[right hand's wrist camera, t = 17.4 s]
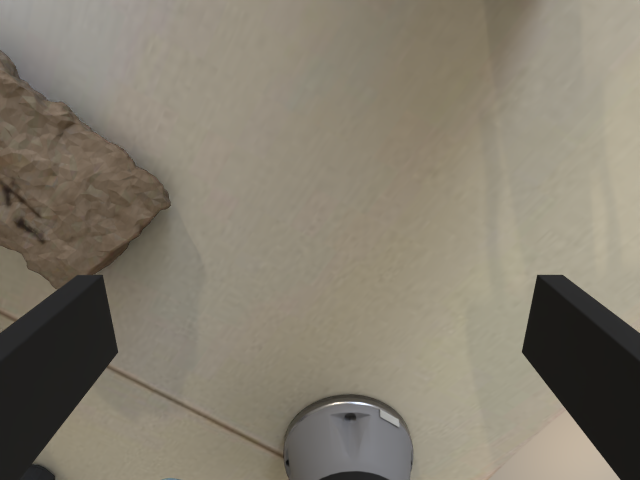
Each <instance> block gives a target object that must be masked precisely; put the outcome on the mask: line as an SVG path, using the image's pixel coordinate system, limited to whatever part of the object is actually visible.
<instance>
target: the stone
mask: <svg viewBox="0 0 640 480" xmlns="http://www.w3.org/2000/svg"><path fill="white" fill-rule="evenodd" d="M170 206H171V204H170V200H169V196H168V192H167V191H166V190H165V189H164V188H163V185H162V184H161V183H160V182H159V180H158V179H157V178H156V177H155V176H153V175H152V174H150V173H148V172H147V171H146V170H144V169H141V168H139V167H137V166H136V165H135V163H134V161H133V160H132V159H131V158H130V157H129V155H128V154H127V152H126V151H125V150H124V149H122V148H120V147H119V146H117V145H115V144H113V143H110V142H108V141H107V140H105V139H104V138H103V137H101V136H100V135H98V134H96V133H95V132H93V131H92V130H91V128H90V127H89V126H87V125H85V124H84V123H82V122H81V121H80V120H79V119H78V117H77V116H76V115H75V114H74V113H73V112H72V111H71V109H70V108H69V107H68V106H67V105H66V104H64V103H63V102H58V103H57V102H51V101H48V100H46V98H45V97H44V95H42V94H40V93H38V92H37V91H35V90H33V89H32V88H31V87H30V85H29V84H28V83H27V82H25V81H24V80H21V79H20V77H19V75H18V72H17V69H16V66H15V65H14V64H13V62H12V61H11V60H10V58H9V57H8V56H7V55H6V54H4V53H3V52H2V51H1V50H0V246H3V247H5V248H7V249H11V250H15V251H17V252H19V253H21V254H22V255H23V257H24V258H25V260H26V262H27V267H28V269H30V270H32V271H34V272H37V273H39V274H40V275H42V276H43V277H44V278H45V279H47V280H48V281H49V282H50V283H51V285H52V286H53V287H54V288H55V289H59V288H61V287H62V286H63V285H65V284H66V283H67V282H69V281H70V280H71V279H73V278H74V277H75V276H77V275H94V274H95V273H97V272H98V271H100V270H101V269H103V268H104V267H106V266H108V265H110V264H111V263H112V262H113V261H114V260H115V259H116V258H117V257H118V256H120V255H121V254H122V253H123V252H124V251H125V250H126V249H127V247H128V244H129V242H130V241H131V240H133V239H135V238H136V237H138V236H139V235H140V234H141V232H142V229H144V228H145V227H146V226H147V225H148V224H149V223H150V222H151V220H152V219H153V218H154V217H155V216H156V215H157V214H158V212H159V211H160V210H164V209H167V208H169V207H170Z"/></svg>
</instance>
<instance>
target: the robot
mask: <svg viewBox="0 0 640 480" xmlns="http://www.w3.org/2000/svg"><path fill="white" fill-rule="evenodd" d="M20 480H55V476H54V475H52V474H51V473H50V472H49V471H47V470H46V469H45V468H43V467H41V466H38V465H30V467H29V468H28V469H27V471H26V472H25V473H24V474H23V476H22V477H21V478H20Z"/></svg>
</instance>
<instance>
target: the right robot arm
mask: <svg viewBox="0 0 640 480" xmlns="http://www.w3.org/2000/svg"><path fill="white" fill-rule="evenodd" d="M117 353H118V349H117V344H116V339H115V334H114V329H113V324H112V319H111V314H110V309H109V304H108V299H107V294H106V289H105V284H104V279H103V275H77V276H75V277H74V278H73V279H71V280H70V281H69V282H67V283H66V284H65V285H63V286H62V287H61V288H59V289H58V290H57V291H55V292H54V293H53V294H51V295H50V296H49V297H47V298H46V299H45V300H44V301H42V302H41V303H40V304H38V305H37V306H36V307H34V308H33V309H32V310H30V311H29V312H28V313H26V314H25V315H24V316H22V317H21V318H20V319H18V320H17V321H16V322H14V323H13V324H12V325H10V326H9V327H8V328H7V329H5V330H4V331H3V332H1V333H0V480H20V478H21V477H22V476H23V474H24V473H25V472H26V471H27V469H28V468H29V467H30V465H31V464H32V463H33V461H34V460H35V459H36V458H37V456H38V455H39V454H40V452H41V451H42V450H43V449H44V447H45V446H46V445H47V443H48V442H49V441H50V440H51V438H52V437H53V436H54V434H55V433H56V432H57V430H58V429H59V428H60V427H61V425H62V424H63V423H64V421H65V420H66V419H67V418H68V416H69V415H70V414H71V412H72V411H73V410H74V409H75V407H76V406H77V405H78V403H79V402H80V401H81V399H82V398H83V397H84V396H85V394H86V393H87V392H88V390H89V389H90V388H91V387H92V385H93V384H94V383H95V381H96V380H97V379H98V378H99V376H100V375H101V374H102V372H103V371H104V370H105V368H106V367H107V366H108V365H109V363H110V362H111V361H112V359H113V358H114V357H115V356H116V354H117ZM522 353H523V354H524V356H525V357H526V358H527V359H528V361H529V362H530V363H531V365H532V366H533V367H534V368H535V370H536V371H537V372H538V374H539V375H540V376H541V378H542V379H543V380H544V381H545V383H546V384H547V385H548V387H549V388H550V389H551V390H552V392H553V393H554V394H555V396H556V397H557V398H558V399H559V401H560V402H561V403H562V405H563V406H564V407H565V409H566V410H567V411H568V412H569V414H570V415H571V416H572V417H573V419H574V420H575V421H576V423H577V424H578V425H579V427H580V428H581V429H582V430H583V432H584V433H585V434H586V436H587V437H588V438H589V440H590V441H591V442H592V443H593V445H594V446H595V447H596V449H597V450H598V451H599V452H600V454H601V455H602V456H603V457H604V459H605V460H606V461H607V463H608V464H609V465H610V467H611V468H612V469H613V471H614V472H615V473H616V474H617V476H618V477H619V478H620V480H640V333H639V332H637V331H636V330H635V329H633V328H632V327H631V326H630V325H628V324H627V323H626V322H624V321H623V320H622V319H620V318H619V317H618V316H616V315H615V314H614V313H612V312H611V311H610V310H608V309H607V308H606V307H604V306H603V305H602V304H600V303H599V302H598V301H596V300H595V299H594V298H593V297H591V296H590V295H589V294H587V293H586V292H585V291H583V290H582V289H581V288H579V287H578V286H577V285H575V284H574V283H573V282H571V281H570V280H569V279H567V278H566V277H565V276H563V275H537V279H536V284H535V289H534V294H533V299H532V304H531V309H530V314H529V319H528V324H527V329H526V334H525V339H524V344H523V349H522ZM283 456H284V464H285V469H286V472H287V475H288V478H289V480H410V472H411V469H412V464H413V445H412V441H411V437H410V433H409V430H408V427H407V425H406V423H405V422H404V420H403V419H402V417H401V416H400V415H399V414H398V413H397V412H396V411H395V410H394V409H392V408H391V407H390V406H388V405H386V404H385V403H383V402H381V401H378V400H376V399H373V398H370V397H365V396H359V395H338V396H332V397H328V398H325V399H322V400H319V401H317V402H315V403H313V404H311V405H309V406H308V407H306V408H305V409H303V410H302V411H301V412H300V413H299V414H298V415H297V416H296V417H295V418H294V419H293V421H292V422H291V424H290V425H289V427H288V430H287V432H286V436H285V442H284V455H283ZM162 480H180V479H174V478H166V479H162Z"/></svg>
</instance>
